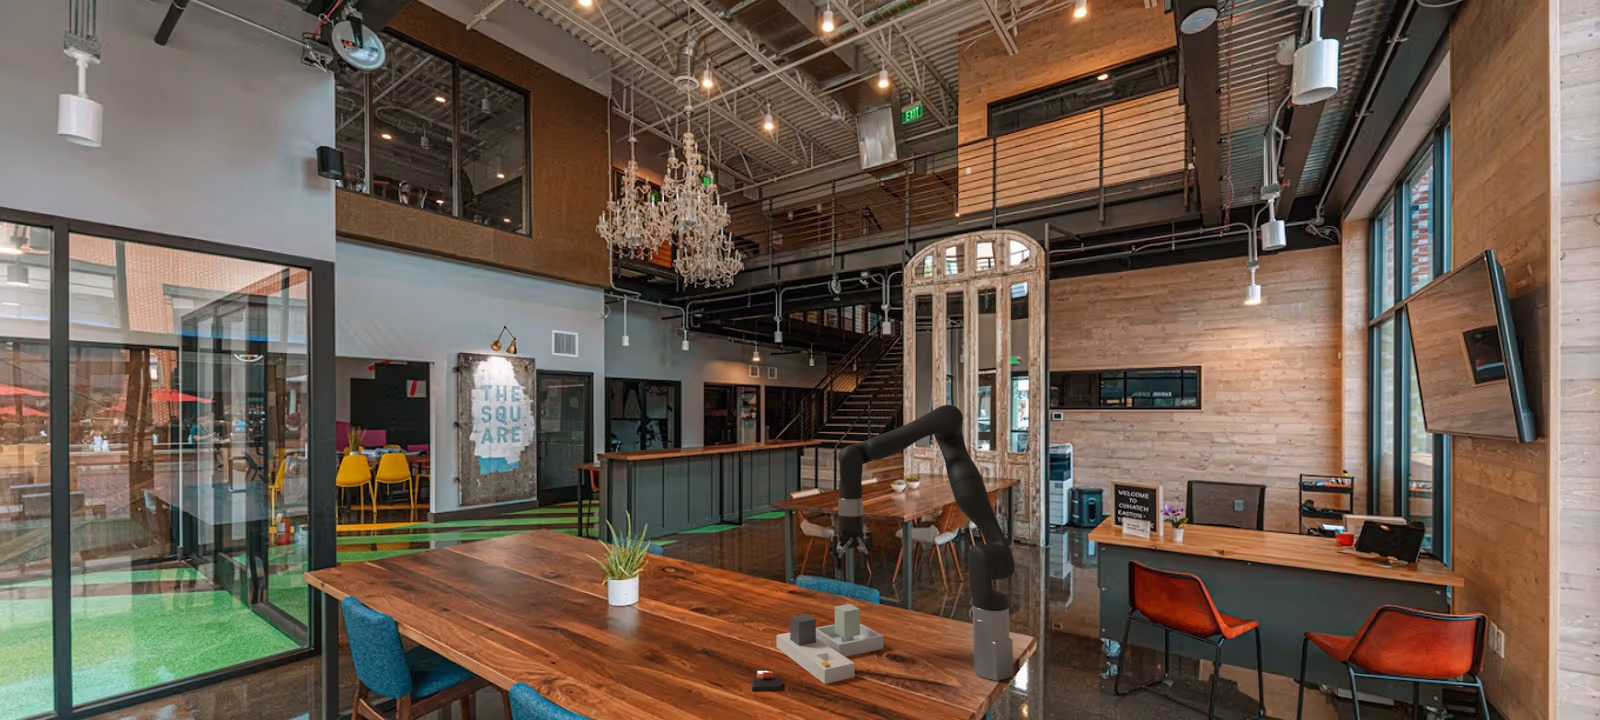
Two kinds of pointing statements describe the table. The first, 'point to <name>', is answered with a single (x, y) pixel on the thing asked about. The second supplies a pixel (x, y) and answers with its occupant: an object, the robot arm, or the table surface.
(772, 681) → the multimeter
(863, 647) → the tray
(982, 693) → the table surface
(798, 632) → the block
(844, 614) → the block
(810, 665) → the flat gray board
